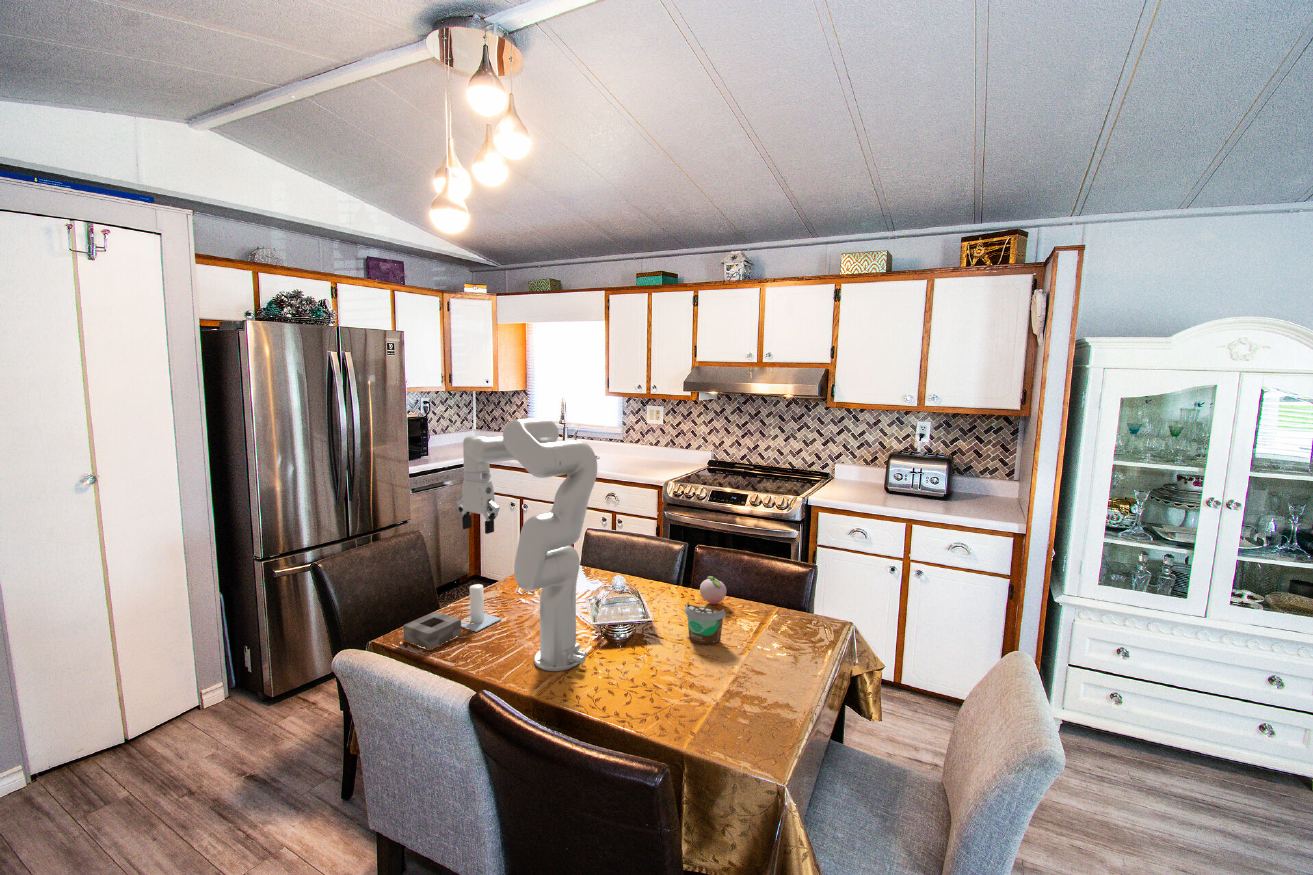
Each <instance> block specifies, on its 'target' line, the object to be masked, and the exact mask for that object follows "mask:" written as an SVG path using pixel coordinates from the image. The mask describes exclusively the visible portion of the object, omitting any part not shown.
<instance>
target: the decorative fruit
mask: <svg viewBox="0 0 1313 875" xmlns="http://www.w3.org/2000/svg"><path fill="white" fill-rule="evenodd" d="M699 586H700V587H699V594H700V596H701V598H702V599H703V600H704V601H706V602H707V603H709V604H711V605H712V604H714V605H718V604H719V603H721V602H722V601H723V600H724V599H725V597H726V595H727V587H726V585H725V584H724V583H723V582H722V581H720V580H718V579H717V578H716V577H715V576H714V575H713V576H711V575H710V576H709V575H708V576H707V578H706V579H705V580H703V581H702V582H701V584H700V585H699Z"/></svg>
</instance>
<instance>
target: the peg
mask: <svg viewBox="0 0 1313 875" xmlns="http://www.w3.org/2000/svg"><path fill="white" fill-rule="evenodd" d="M484 601H485V600H484V585H483V584H480V583H477V584H473V585H472V584H471V585H470V586H469V611H470V614H469V616H470V618H471V623H474V624H479V623H482V622H483V621H484V613H485V607H484V606H485V602H484Z"/></svg>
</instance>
